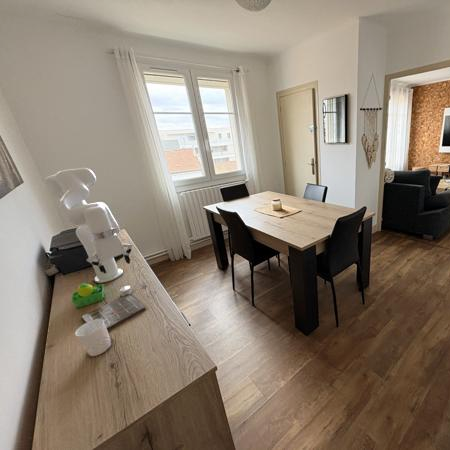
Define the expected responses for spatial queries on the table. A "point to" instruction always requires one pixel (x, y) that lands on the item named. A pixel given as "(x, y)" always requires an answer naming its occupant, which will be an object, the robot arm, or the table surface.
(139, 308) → the board
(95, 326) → the white cup
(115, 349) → the table surface
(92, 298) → the fruit basket
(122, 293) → the white round puck
